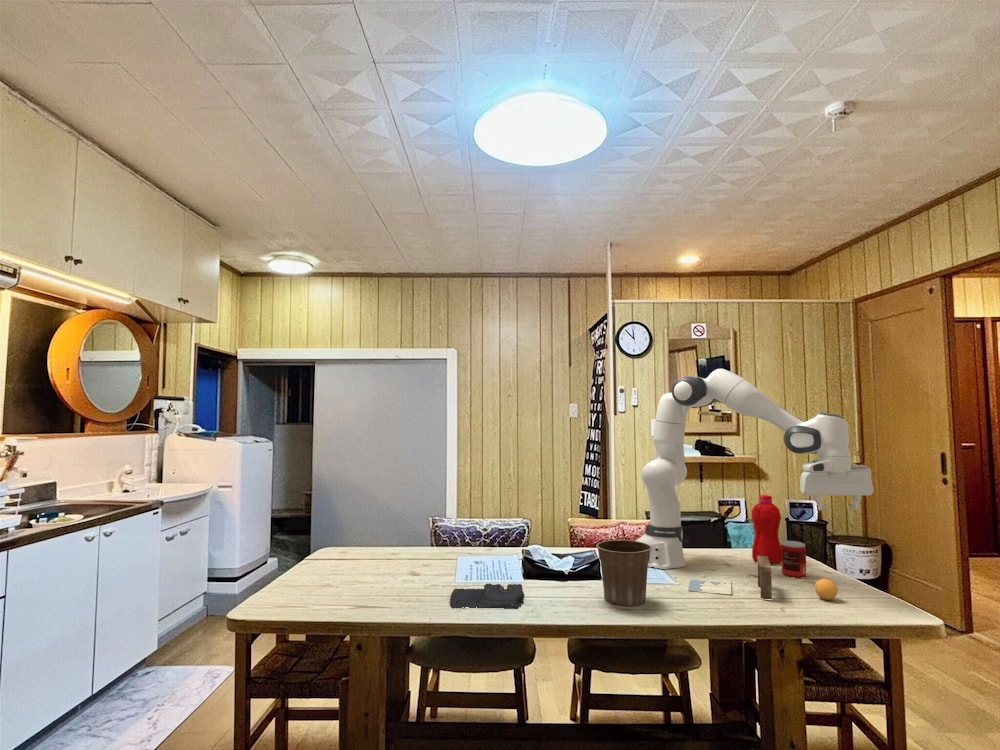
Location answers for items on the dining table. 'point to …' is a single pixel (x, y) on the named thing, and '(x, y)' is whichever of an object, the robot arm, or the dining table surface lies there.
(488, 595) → the dark slate chunk
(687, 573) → the dining table surface
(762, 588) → the wooden staple shape
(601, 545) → the plant pot
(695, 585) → the flat gray rectangular panel
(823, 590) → the ball
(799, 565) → the canned food
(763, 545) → the water bottle
